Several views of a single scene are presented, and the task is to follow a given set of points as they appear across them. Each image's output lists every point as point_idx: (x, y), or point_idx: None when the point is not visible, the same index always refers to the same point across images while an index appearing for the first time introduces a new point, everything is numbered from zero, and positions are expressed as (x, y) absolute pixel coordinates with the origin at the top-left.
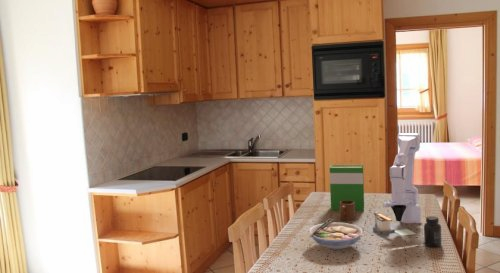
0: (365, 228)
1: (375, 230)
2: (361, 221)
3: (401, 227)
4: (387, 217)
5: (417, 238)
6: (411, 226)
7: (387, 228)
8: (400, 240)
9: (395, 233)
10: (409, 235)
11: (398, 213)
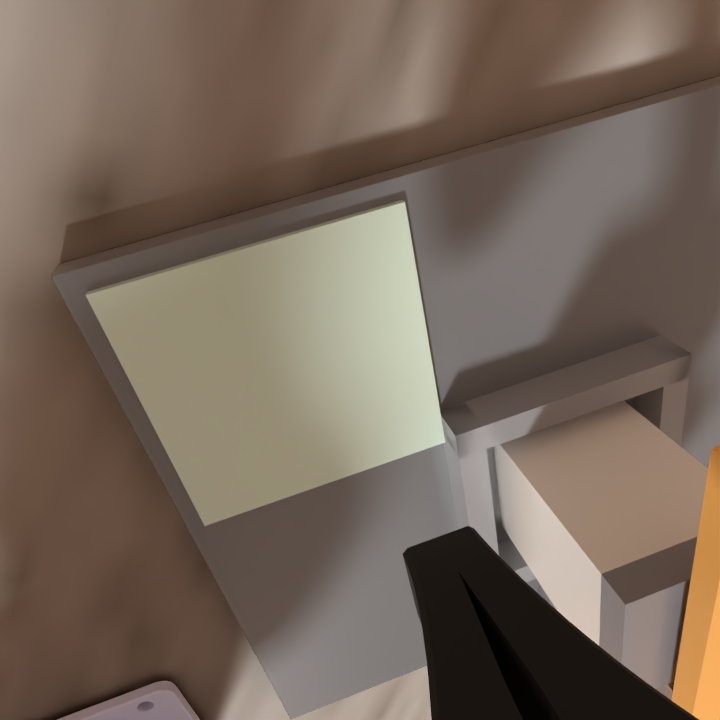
0: None
1: None
2: None
3: (261, 585)
4: (713, 614)
5: (91, 106)
6: (78, 664)
7: (560, 453)
8: (477, 49)
9: (454, 346)
10: (246, 222)
11: (650, 717)
